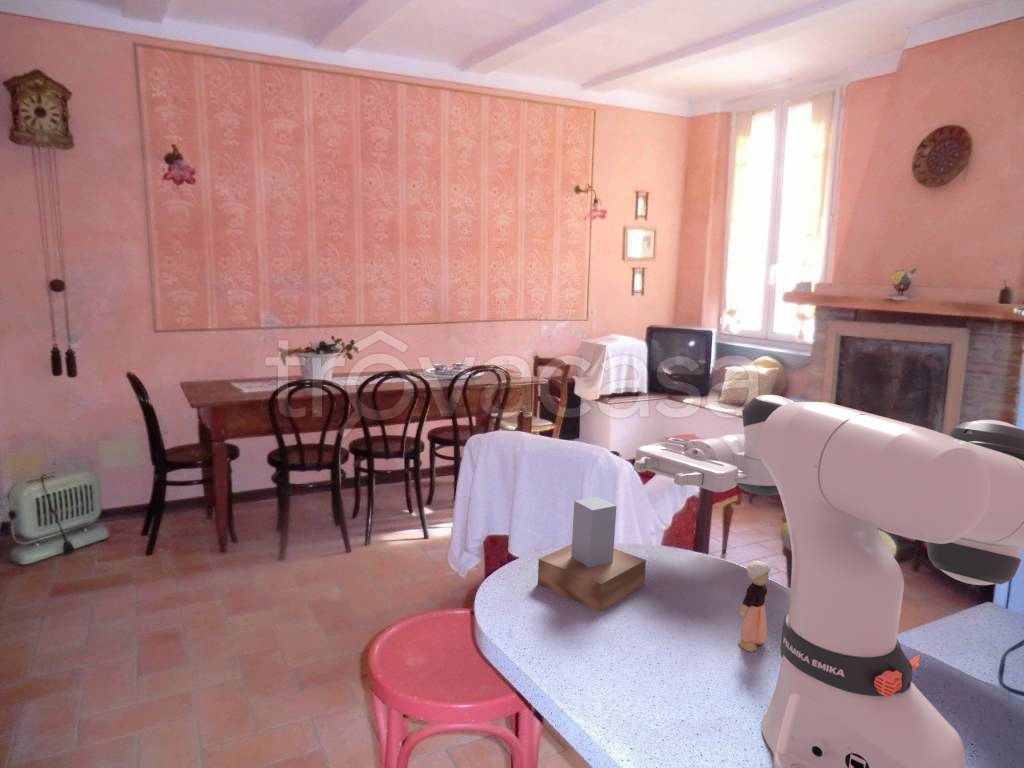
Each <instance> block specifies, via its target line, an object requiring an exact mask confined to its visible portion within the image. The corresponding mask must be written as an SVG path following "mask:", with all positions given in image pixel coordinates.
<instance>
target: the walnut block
mask: <svg viewBox="0 0 1024 768" xmlns="http://www.w3.org/2000/svg"><path fill="white" fill-rule="evenodd" d="M571 553H572V543H571V544H569V545H567V546H565V547H562V548H559V549H557V550H556V551H555V550H554V552H551V553H549V554H547V555H545V556H542V557H540V558H538V563H537V564H538V566H537V567H538V570H537V586H540V585H541V586H540V587H543V588H545V587H546V589H547V588H548V590H549V591H552V590H553V592H554V591H555V592H554V593H557V594H559V595H561V596H563V597H566V598H569V599H571V600H573V601H575V602H578V603H580V604H582V605H584V606H587V607H589V608H592V609H593V610H596V611H597V612H601V611H603V610H605V609H607V608H608V607H610V606H611V605H613V604H615V603H617V602H618V601H620V600H622V599H624V598H625V597H626V596H630V594H632V593H633V592H635V591H637V590H639V589H640V588H642V587H644V586H645V582H646V581H645V579H646V568H647V567H646V564H647V561H646V559H644V558H642V557H639V556H636V555H633V554H630V553H628V552H624V551H622V550H619V549H616V548H614V550H613V562H611V563H607V564H603V565H599V566H595V567H591V568H589V567H587V566H585V565H584V564H582V563H581V562H579V561H578V560H576V559H574V558H573V557H571Z"/></svg>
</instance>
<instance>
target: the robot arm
mask: <svg viewBox="0 0 1024 768" xmlns="http://www.w3.org/2000/svg"><path fill="white" fill-rule="evenodd" d="M741 413H742V424H743V433H735V434H734V433H732V434H726V435H725V434H724V435H722V436H719V437H710V438H705V439H702V438H698V439H685V438H679V437H677V438H676V437H670V438H667V439H666V442H665V441H663V442H662V441H661V442H654V443H651V444H646V445H642V446H639V447H637V449H636V451H635V457H634V458H635V461H634V464H633V471H635V472H638V473H645V472H647V471H649V472H652V473H655V474H658V475H662V476H665V477H667V478H670V479H674V480H673V484H675V485H678V486H680V487H683V486H695V487H699V488H700V489H701V488H702V489H705V490H708V491H711V492H714V493H724V492H727V491H729V490H731V489H734V488H735V487H737V486H738V487H739V488H741V489H742V490H744V491H745V492H746V493H749V494H754V495H756V496H757V495H758V496H777V495H779V496H780V497H779V498H780V502H781V503H782V507H783V511H784V514H785V519H786V524H787V529H788V533H789V537H790V538H789V540H790V545H791V546H790V548H791V578H790V591H789V603H788V612H787V613H786V614H785V616H784V618H783V625H782V630H781V637H780V638H781V639H780V656H781V658H782V659H781V663H780V669H779V673H778V678H777V681H776V685H775V689H774V692H773V695H772V697H771V701H770V703H769V706H768V707H767V711H766V712H765V714H764V716H763V718H762V720H761V731H762V735H763V738H764V740H765V742H766V744H767V746H768V747H769V749H770V751H771V753H772V755H773V758H772V759H773V768H967V762H966V760H967V759H966V753H965V747H964V743H963V740H962V738H961V736H960V734H959V732H957V730H956V729H955V728H954V727H953V726H952V725H951V723H949V721H947V720H946V718H944V716H943V715H942V714H941V713H940V712H939V711H938V710H937V708H936V707H935V706H934V705H933V704H932V703H931V702H930V701H929V700H928V699H927V697H925V695H924V694H923V693H922V692H921V690H920V689H918V687H917V686H916V685H915V683H913V681H912V679H913V672H914V671H915V670H916V669H918V668H919V665H920V663H919V662H920V658H921V657H920V655H919V654H918V655H916V656H914V657H913V658H912V659H910V660H909V659H908V657H907V656H906V654H905V653H904V651H903V649H902V645H901V643H900V641H899V639H898V635H899V627H900V621H901V620H900V619H901V612H902V611H901V610H902V604H903V598H904V597H903V596H904V589H905V581H904V579H905V578H904V575H903V572H902V569H901V567H900V565H899V563H898V561H897V560H896V559H895V557H894V556H893V554H892V553H891V551H890V550H889V549H888V547H887V546H886V544H885V543H884V540H883V539H882V536H881V534H880V531H879V530H881V531H884V532H886V533H889V534H893V535H896V536H900V537H904V538H908V539H912V540H917V541H921V542H922V541H923V542H926V551H927V556H928V559H929V560H930V562H931V563H932V565H933V567H935V568H936V569H938V570H940V571H942V572H943V573H944V574H946V575H947V576H949V577H951V578H952V579H954V580H957V581H960V582H962V583H966V584H970V585H975V586H977V585H978V586H989V585H990V586H991V585H1003V584H1005V583H1008V582H1010V581H1012V580H1013V578H1014V577H1015V576H1016V574H1017V571H1018V570H1019V567H1020V565H1021V562H1022V559H1021V558H1020V555H1021V552H1022V549H1023V547H1024V429H1021V428H1020V427H1018V426H1015V425H1014V424H1012V423H1010V422H1009V423H1008V422H1006V421H1001V420H996V419H979V420H972V421H964V422H961V423H959V424H958V425H956V426H955V427H952V429H951V431H950V432H949V434H945V433H942V432H939V431H937V430H933V429H930V428H927V427H924V426H920V425H915V424H912V423H907V422H904V421H900V420H897V419H893V418H889V417H885V416H881V415H877V414H874V413H870V412H866V411H862V410H858V409H854V408H851V407H847V406H843V405H840V404H839V405H838V404H835V403H831V402H828V401H827V402H826V401H795V400H793V399H789V398H787V397H784V396H781V395H777V394H761V395H756V396H754V397H753V398H752V399H751V400H750V401H749V402H747V404H746V405H745V406H744V408H743V409H742V411H741Z"/></svg>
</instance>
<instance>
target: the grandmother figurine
mask: <svg viewBox="0 0 1024 768" xmlns="http://www.w3.org/2000/svg"><path fill="white" fill-rule="evenodd" d="M745 571H746V572H747V575H748V577H749V580H750V582H751V584H749V586H748V587H747V589H746V592H745V596H744V599H743V601H742V603H741V604H742V605H741V607H740V611H739V612H738V617H740V618H742V619H743V621H742V629H741V632H740V640H739V641H738V643H737V644H738V646H739V647H740V648H742V649H743V650H745V651H747V652H750V653H753V652H756V651H758V647H757V646H762V645H764V643H767V641H768V628H767V625H768V624H767V618H766V617H767V616H766V607H765V606H766V605H765V603H766V602H767V601H768V599H769V595H768V589H767V585H766V584H767V583H768V581H769V578H770V577H769V573H770V572H771V571H772V570H771V567H770V565H769V564H767V562H764V561H761V560H754V561H752V562H751V563H750V564H748V565H747V567H746V568H745Z"/></svg>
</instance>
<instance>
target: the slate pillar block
mask: <svg viewBox="0 0 1024 768" xmlns="http://www.w3.org/2000/svg"><path fill="white" fill-rule="evenodd" d="M573 503H574V504H573V516H572V517H573V519H572V520H573V521H572V536H571V539H572V541H571V544H572V553H571V557H573V558H574V559H576V560H578V561H579V562H581V563H582V564H584V565H585V566H587V567H589V568H591V567H595V566H599V565H603V564H607V563H611V562H613V550H614V549H615V532H616V517H617V516H616V515H617V505H616V504H614V503H612V502H610V501H608V500H606V499H603V498H601V497H600V496H593V497H588V498H583V499H577V500H574V502H573Z"/></svg>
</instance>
